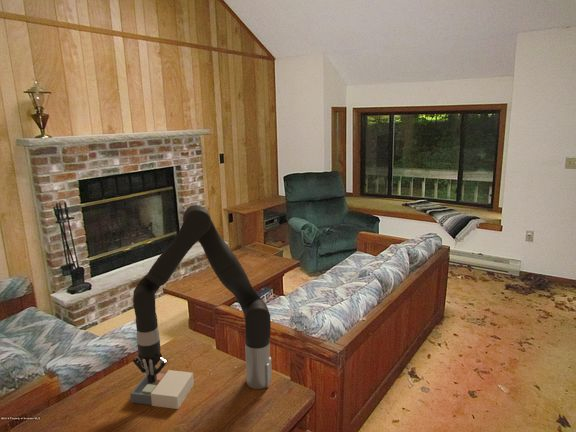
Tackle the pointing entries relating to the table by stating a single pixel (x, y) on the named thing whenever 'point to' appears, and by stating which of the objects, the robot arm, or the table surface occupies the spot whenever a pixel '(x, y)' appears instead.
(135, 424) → the table surface
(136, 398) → the box
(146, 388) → the sage green cube
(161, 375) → the orange cube
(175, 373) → the cream rectangular block
